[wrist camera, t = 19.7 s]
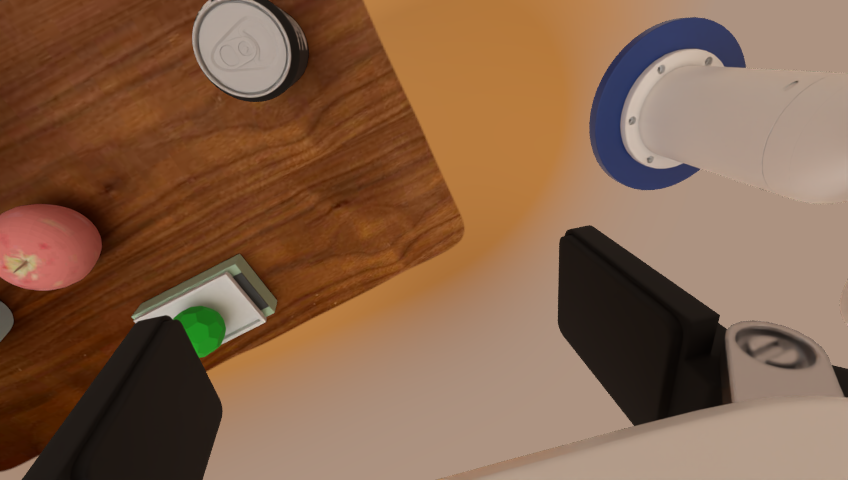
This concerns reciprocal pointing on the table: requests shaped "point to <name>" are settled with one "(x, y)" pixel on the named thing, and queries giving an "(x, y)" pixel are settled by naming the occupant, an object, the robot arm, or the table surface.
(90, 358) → the table surface
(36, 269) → the apple
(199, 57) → the beverage can
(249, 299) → the scale
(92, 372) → the table surface
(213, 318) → the polyhedron
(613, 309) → the robot arm
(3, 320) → the cup
